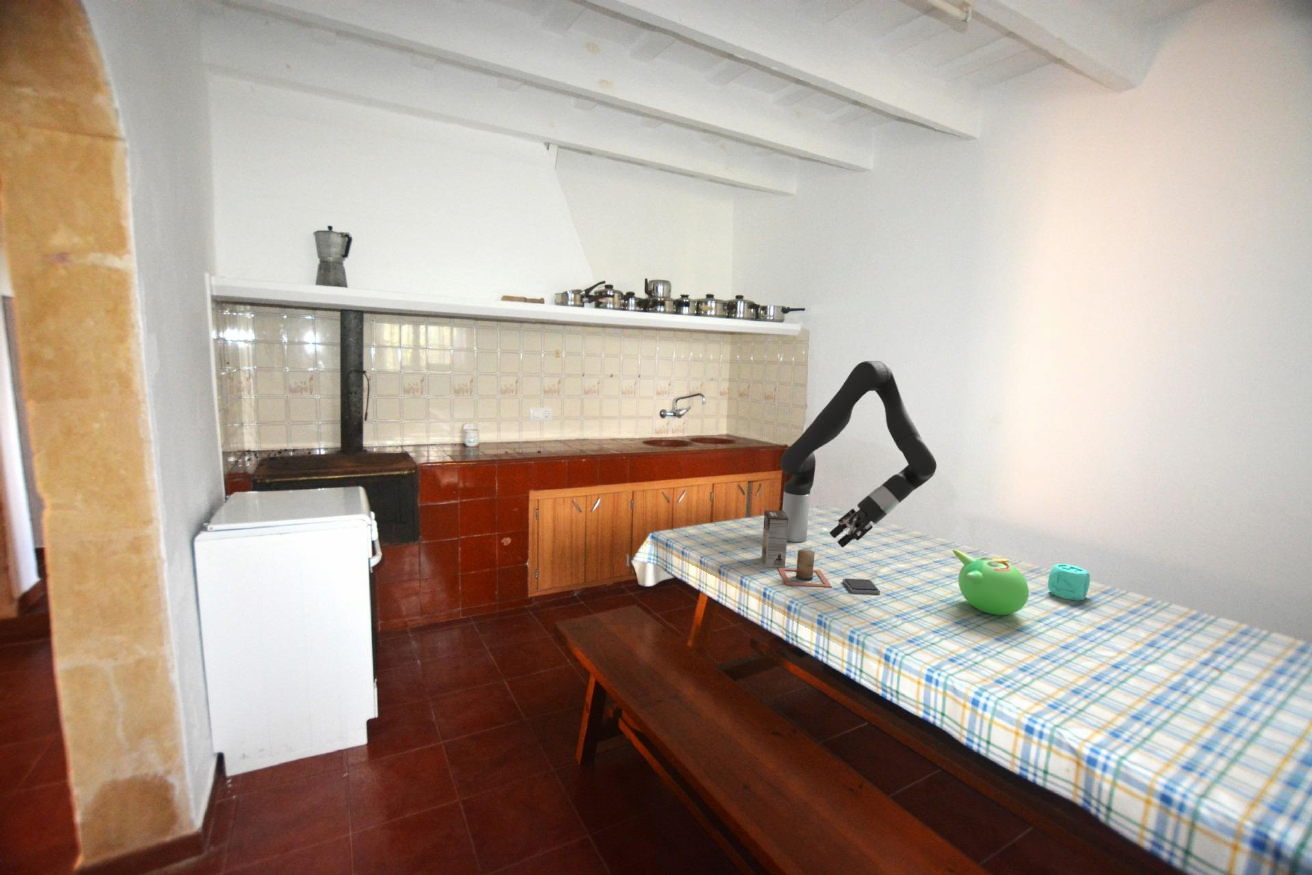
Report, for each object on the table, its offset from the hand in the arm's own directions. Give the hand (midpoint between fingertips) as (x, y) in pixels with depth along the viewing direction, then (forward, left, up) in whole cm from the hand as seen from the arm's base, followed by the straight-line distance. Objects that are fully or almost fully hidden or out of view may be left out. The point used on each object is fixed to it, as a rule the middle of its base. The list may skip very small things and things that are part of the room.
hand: (835, 540), depth 169 cm
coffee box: (-12, -15, -12) cm, 23 cm away
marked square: (0, -8, -12) cm, 15 cm away
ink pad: (+6, +7, -12) cm, 15 cm away
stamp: (0, -8, -12) cm, 15 cm away
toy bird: (+17, +37, -12) cm, 42 cm away
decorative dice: (+4, +66, -12) cm, 68 cm away
